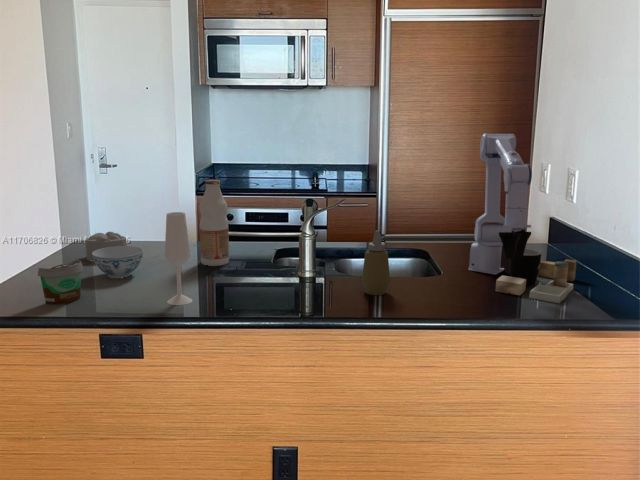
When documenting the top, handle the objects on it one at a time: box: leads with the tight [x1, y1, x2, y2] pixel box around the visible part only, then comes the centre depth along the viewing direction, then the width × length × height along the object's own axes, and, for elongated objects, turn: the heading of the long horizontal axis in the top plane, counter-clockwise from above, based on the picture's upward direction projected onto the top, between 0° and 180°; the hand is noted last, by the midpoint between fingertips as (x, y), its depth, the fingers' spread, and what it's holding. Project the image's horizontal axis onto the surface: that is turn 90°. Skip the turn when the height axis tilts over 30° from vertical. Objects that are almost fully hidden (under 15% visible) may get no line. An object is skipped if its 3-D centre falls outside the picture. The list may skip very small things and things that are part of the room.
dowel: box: [553, 261, 568, 288], centre depth 171 cm, size 4×4×8 cm
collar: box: [545, 279, 574, 295], centre depth 171 cm, size 6×6×2 cm
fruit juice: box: [198, 179, 230, 267], centre depth 194 cm, size 9×9×28 cm
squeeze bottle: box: [361, 230, 391, 296], centre depth 165 cm, size 8×8×18 cm
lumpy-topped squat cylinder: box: [84, 231, 128, 261], centre depth 202 cm, size 10×13×9 cm
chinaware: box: [92, 245, 144, 279], centre depth 181 cm, size 15×15×8 cm
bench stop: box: [537, 258, 578, 282], centre depth 185 cm, size 17×3×6 cm, turn 54°
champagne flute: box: [164, 211, 193, 306], centre depth 155 cm, size 7×7×24 cm
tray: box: [528, 284, 568, 304], centre depth 164 cm, size 8×8×2 cm
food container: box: [37, 258, 84, 305], centre depth 157 cm, size 12×6×10 cm, turn 148°
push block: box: [495, 274, 527, 296], centre depth 170 cm, size 7×6×4 cm
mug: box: [508, 247, 542, 288], centre depth 177 cm, size 12×9×10 cm
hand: (514, 257), depth 161 cm, fingers open, 7 cm apart
